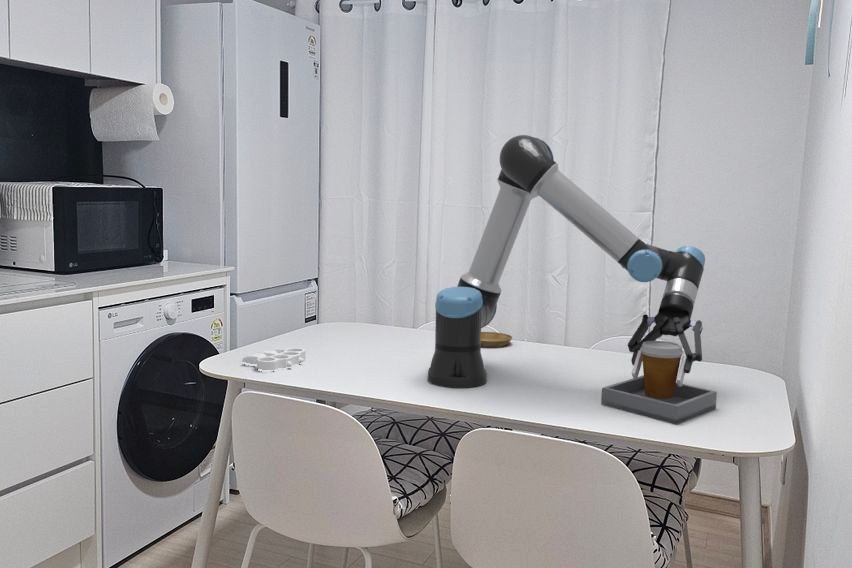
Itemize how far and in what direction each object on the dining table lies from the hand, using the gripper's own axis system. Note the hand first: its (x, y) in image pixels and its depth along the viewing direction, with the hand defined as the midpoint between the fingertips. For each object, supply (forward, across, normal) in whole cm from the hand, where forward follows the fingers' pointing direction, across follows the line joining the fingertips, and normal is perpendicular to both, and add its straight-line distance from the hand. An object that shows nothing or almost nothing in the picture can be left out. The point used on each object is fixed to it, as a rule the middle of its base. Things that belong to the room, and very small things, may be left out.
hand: (656, 380), depth 175 cm
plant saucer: (-24, +63, -34) cm, 76 cm away
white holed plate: (+18, +98, +7) cm, 100 cm away
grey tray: (+3, 0, -7) cm, 8 cm away
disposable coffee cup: (+1, 0, -6) cm, 6 cm away
